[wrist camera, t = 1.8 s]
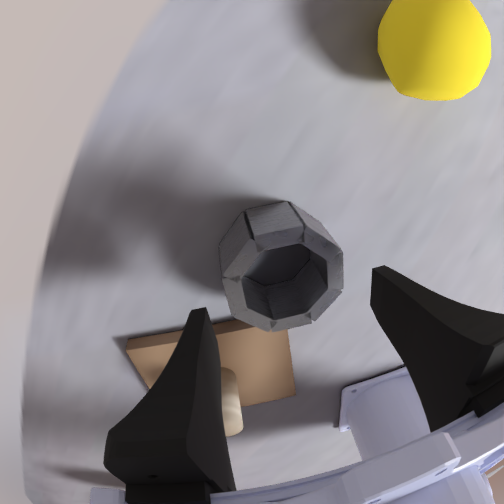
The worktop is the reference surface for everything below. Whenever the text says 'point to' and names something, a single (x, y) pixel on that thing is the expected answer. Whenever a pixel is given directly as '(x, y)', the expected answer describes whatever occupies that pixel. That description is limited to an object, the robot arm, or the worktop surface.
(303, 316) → the collar ring
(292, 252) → the worktop surface
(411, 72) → the lemon
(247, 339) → the post board
